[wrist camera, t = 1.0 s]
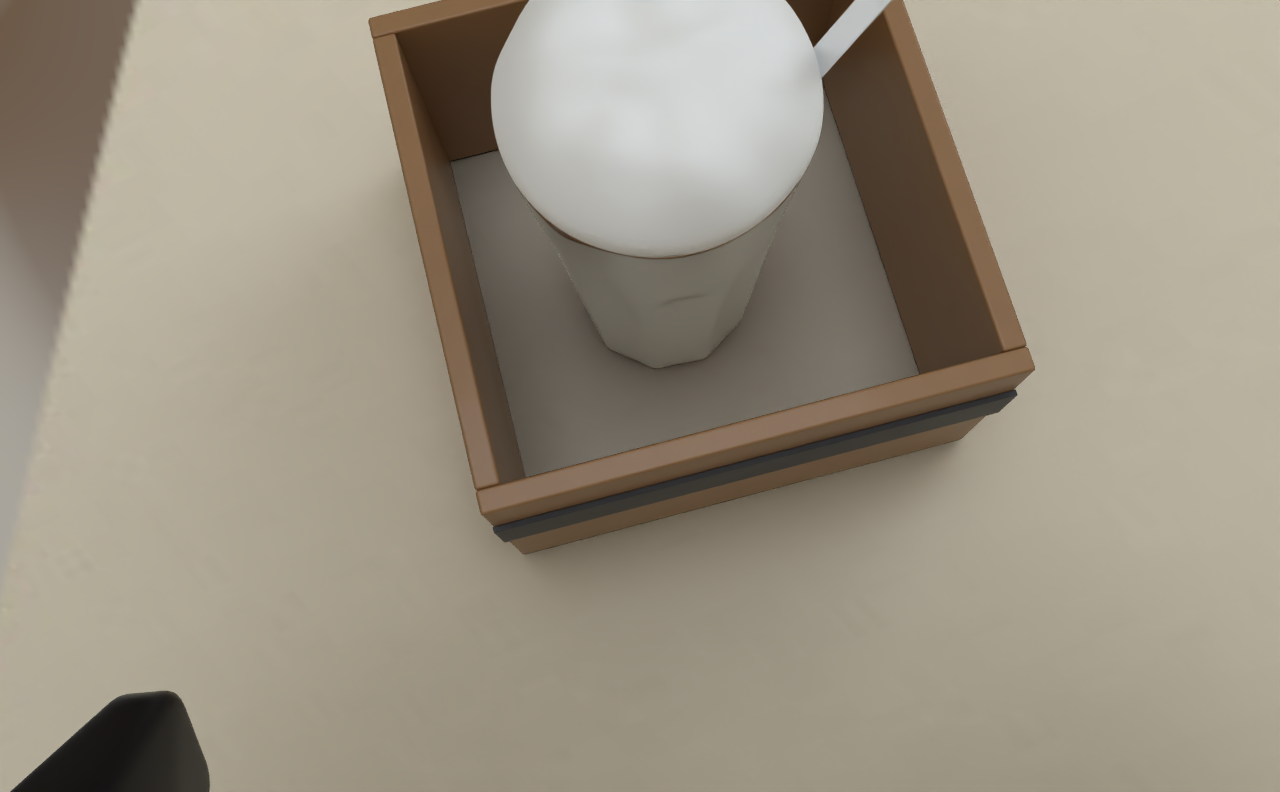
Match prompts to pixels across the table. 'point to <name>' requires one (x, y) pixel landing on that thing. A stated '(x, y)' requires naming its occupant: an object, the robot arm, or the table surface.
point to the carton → (755, 448)
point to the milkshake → (663, 151)
